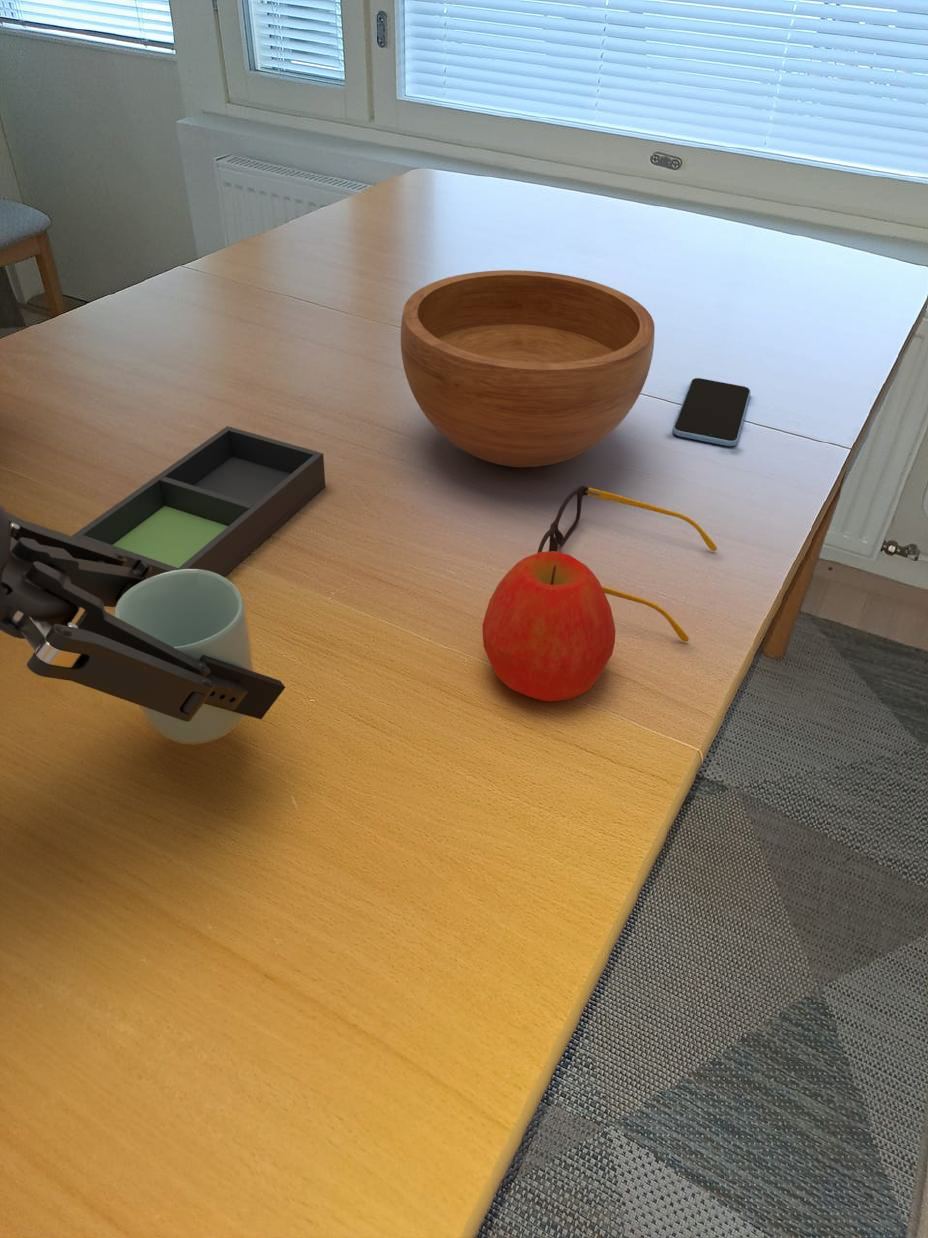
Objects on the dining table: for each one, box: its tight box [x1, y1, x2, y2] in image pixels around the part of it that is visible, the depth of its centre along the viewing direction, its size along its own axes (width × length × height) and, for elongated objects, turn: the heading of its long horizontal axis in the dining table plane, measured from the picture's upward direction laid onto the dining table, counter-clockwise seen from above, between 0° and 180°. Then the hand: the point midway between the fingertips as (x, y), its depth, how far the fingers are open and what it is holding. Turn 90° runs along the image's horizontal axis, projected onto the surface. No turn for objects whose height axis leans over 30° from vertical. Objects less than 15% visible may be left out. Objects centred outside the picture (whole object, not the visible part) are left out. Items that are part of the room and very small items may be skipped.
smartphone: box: [672, 377, 752, 447], centre depth 107 cm, size 7×1×15 cm
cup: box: [113, 569, 255, 745], centre depth 59 cm, size 8×8×10 cm
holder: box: [71, 425, 327, 580], centre depth 85 cm, size 11×22×4 cm, turn 155°
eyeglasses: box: [536, 485, 718, 642], centre depth 81 cm, size 14×14×4 cm
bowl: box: [400, 269, 656, 468], centre depth 94 cm, size 25×25×15 cm
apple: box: [481, 551, 616, 703], centre depth 69 cm, size 10×10×10 cm
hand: (242, 661), depth 62 cm, fingers closed on cup, 8 cm apart
